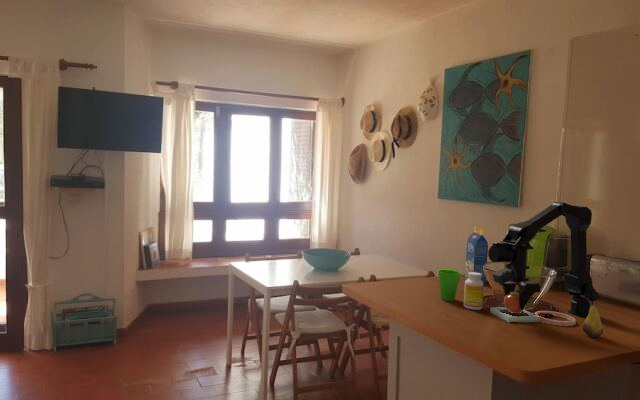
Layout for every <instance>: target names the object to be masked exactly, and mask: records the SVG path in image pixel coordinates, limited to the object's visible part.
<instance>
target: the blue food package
mask: <svg viewBox="0 0 640 400" xmlns="http://www.w3.org/2000/svg"><path fill="white" fill-rule="evenodd" d="M488 251H489V244H488V241H487V239H486V238H485V237H484V235H483V228H479V227H476V226H474V227H473V232H472V233H471V234H470V235H469V236H468V238H467V241H466V252H465V254H466V256H465V268H464V278H465V280H467V279H469V277H468V273H469V272H476V273H480V274H482V277H481V281H483V283H484V284H486V283H487V282H486V281H487V275H486V276H485V274H484V271H483V265H484V264H485V263H487V264H488Z"/></svg>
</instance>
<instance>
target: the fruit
mask: <svg viewBox="0 0 640 400" xmlns="http://www.w3.org/2000/svg"><path fill="white" fill-rule="evenodd" d="M585 298H586V299H587V300H588V298H587V297H585ZM588 301H589V300H588ZM589 303H590V301H589ZM590 304H591V303H590ZM582 331H583V332H584V333H585V335H587V336H588V337H590V338H599V337H601V336H602V335H603V333H604V325H603V323H602V320H601V316H600V313H599V310H598V308H597V306H595V305H594V304H593V305H592V304H591V307H590V310H589V314H588V316H587V317H586V318H585V320H584V321H583V322H582Z"/></svg>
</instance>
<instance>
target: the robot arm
mask: <svg viewBox="0 0 640 400" xmlns="http://www.w3.org/2000/svg"><path fill="white" fill-rule="evenodd" d="M560 216H561V217H562V216H563V217H564V218H565V222H566V224H567V227H568V229H569V231H570V258H571V259H570V262H571V265H570V268H571V269H570V270H569V272H568V273H564V280H565V282H564V285H565V286H566V289H567V292H568V295H569V296H572V299H571V300H570V301H571V302H570V310H567V312H568V313H571V314H573V315H576V316H578V317H583V318H584V317H586V318H587V316H588V314H589V310H590V307H591V304H592V305H594V302H595V301H597V302H598V299H599V296H600V294H599V293H598V292H597V290H596V289H595V287H594V285H593V279H592V277H591V275H590V273H589V271H588V265H587V264H588V260H587V258H588V257H587V253H588V252H587V230H589V227H590V226H591V224H592V219H593V218H592V217H593V213H592V210H591V209H590V207H588V206H582V205H572V204H570V203H569V204H568V203H566V202H563V201H562V202H559V201H554V202H551V205H549V206H548V207H546V208H544V209H543V210H542V211H540V212H539V213H537V214H535V215H534V216H533V217H530V219H528V220H525V221H521V222H517V223H515V224H513V225H511V226H510V227H509V228H508V231H507V233H506V234H505V236H504V237H503V238H502V239H501V241H500V242H497V241H493V242H492V245H491V246H490V247H489V248H488V255H487V257H488V258H489V259H488V260H490V262H491V263H506V264H505V268H500V269H499V270H496V271H493V272H492V273H491V274H492V278H493V281H494V283H498V285H500V286H501V287H502V289H503V292H504V297H505V296H506V295H507V294H510V292H514V291H515V289H516V287H518V289H517V290H516V291H517V292H518V293H519V305H520V309H524V307H525V306H527V304H528V302H529V301H530V299H531V298H532V297H533V295H534V294H536V293H541V292H542V286H541V284H540V283H539V282H536V281H533V280H532V281H530V280H529V277H527V270H529V269H530V265H528V251H529V250H534V248H535V247H533V246H532V245H531V244H530V242H531V241H532V240H533V239H534V238H535V237H536V236H537V233H538V232H539V231H540V230H542V229H543V228H545V227H546V226H547V225H549V224H550V223H552V222H553V221H555V220H556V219H558V218H560ZM585 297H587V298H588V300H589V301H590V303H591V304H590V303H589V301H588V300H587V299H586V298H585ZM525 308H526V307H525ZM524 310H525V309H524Z"/></svg>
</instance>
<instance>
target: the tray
mask: <svg viewBox="0 0 640 400" xmlns="http://www.w3.org/2000/svg"><path fill="white" fill-rule="evenodd" d="M500 310H507V308H506V306H505V307H490V310H489V313H490V314H492V315H493V316H495V317H498V318H499V319H501V320H503V321H505V322H507V323H509V322H519V323H540V321H539V319H540V317H539V316H537V315H534V313H532V312H530V311H528V310H526V309H524V310H523V312H524V313H527V314H528V315H529V316H519V317H518V316H512V315H509V314H506V313H502V312H500Z"/></svg>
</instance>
